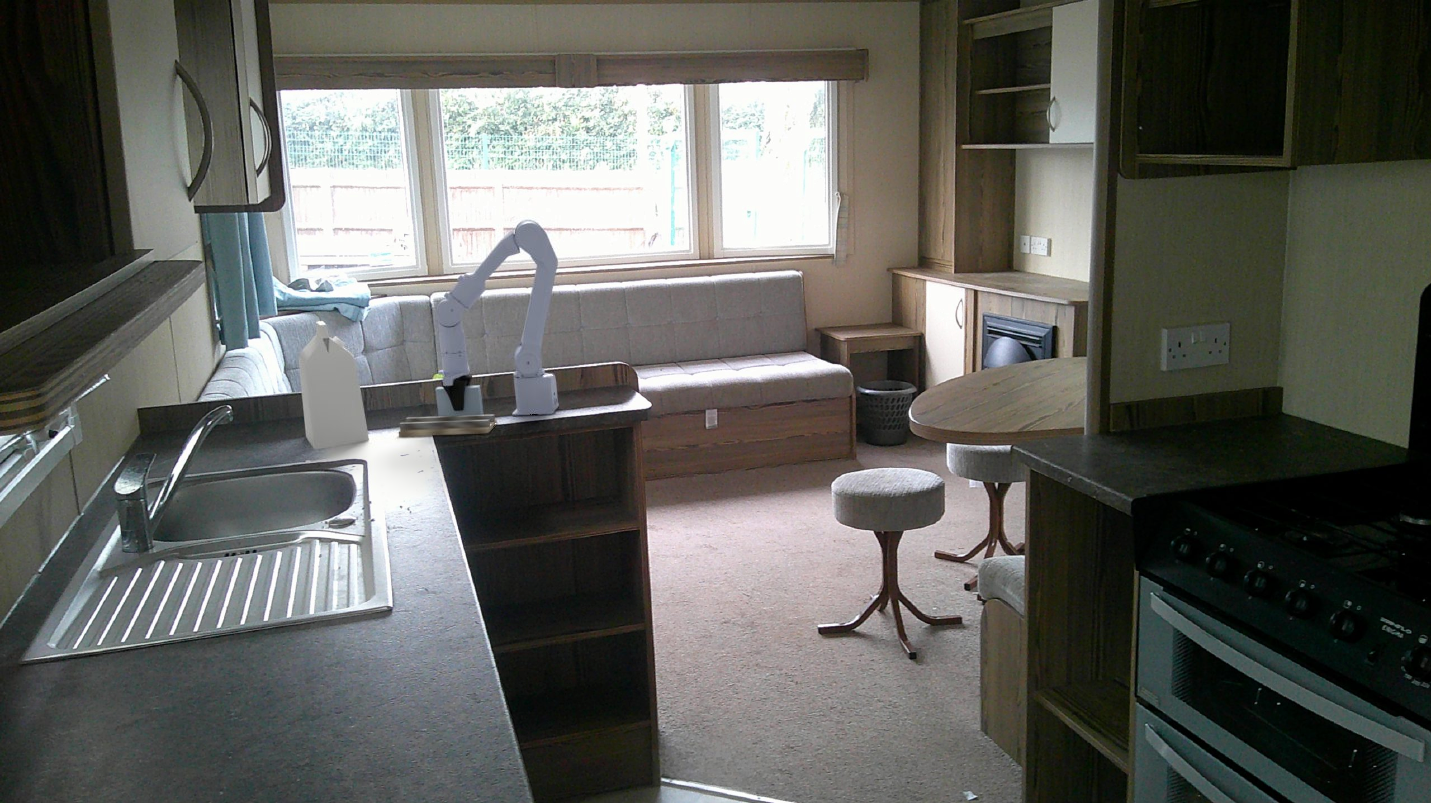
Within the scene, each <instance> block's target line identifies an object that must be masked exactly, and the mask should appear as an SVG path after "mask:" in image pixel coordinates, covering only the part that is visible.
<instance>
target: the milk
mask: <svg viewBox="0 0 1431 803" xmlns="http://www.w3.org/2000/svg"><path fill="white" fill-rule="evenodd" d="M315 327H316V333H315V335H314V336H313V337H312V338H311V340H310V341H309V342H308V343H307V344H306V346H305V347H304V348H302V350H301V352H300V353H299V355H298V368H299V369H298V370H299V371H298V372H299V378H300V389H301V399H302V409H303V418H304V428H305V438H306V439H307V440H308V443H309V444H310V445H311V447H312V448H313V450H319V449H326V448H331V447H337V446H344V445H348V444H349V445H351V444H354V443H360V442H361V443H362V442H367V441H370V438H369V432H368V426H367V420H366V414H365V408H364V402H363V397H362V391H361V386H360V385H361V384H360V380H359V378H360V377H359V374H358V368H357V363H356V362H357V361H356V358H355V354H354V353H353V354H352V353H351V352H350V351H349V349H347V348H345V346H346V345H347V343H345V341H343V340H342V339H340V338H339V337H338V336H337V335H335V336H334V337H333V338H332V337H330V334H329V329H328V324H327V323H325V322H324V321H323V320H319V321H315Z"/></svg>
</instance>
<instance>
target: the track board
mask: <svg viewBox="0 0 1431 803" xmlns="http://www.w3.org/2000/svg"><path fill="white" fill-rule="evenodd" d="M495 423H497V424H498V421H497V418H496V417H495V414H484V415H463V416H439V415H438V416H413V417H412V416H411V417H409V416H408V417H406V418H405V422H400V423H399V431H398V432H397V433H398V437H417V436H419V437H420V436H445V435H474V434H475V435H476V434H477V435H479V434H488V433H490V432H491V431H492V429H494V427H495V426H496V425H495ZM494 425H495V426H494ZM493 426H494V427H493Z"/></svg>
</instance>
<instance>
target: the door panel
mask: <svg viewBox="0 0 1431 803" xmlns="http://www.w3.org/2000/svg"><path fill="white" fill-rule="evenodd" d="M435 397H436V407H437V414H438V416H463V415H485V414H484V407H483V406H484V405H483V398H482V391H481V385H479V384H478V385H470V386H466V388H465V393H464V409H463V411H454V409H453V407H452V404H451V401H450V399H449V396H448V394H447V393H446V391H445V389H444V388H443V387H442V386H437V387H436V388H435Z"/></svg>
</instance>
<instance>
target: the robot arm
mask: <svg viewBox="0 0 1431 803" xmlns="http://www.w3.org/2000/svg"><path fill="white" fill-rule="evenodd" d="M521 250H522V251H524V253H525V252H526V253H527V254H528V255H529V256H530V258H531V259H532V260H533V262H534V264H535V265H536V268H535V272H534V273H535V274H534V278H533V283H532V287H531V291H530V292H531V293H530V297H529V303H528V307H527V312H526V317H525V322H524V325H523V327H524V328H523V330H522V331H523V332H522V334H521V339H520V342H519V344H518V345H517V346H516V348H515V349H514V352H513V359H514V360H513V364H514V368H515V371H514V372H513V373H512V375H513V383H514V384H513V385H514V392H515V393H514V394H515V401H516V404H515V405H516V409H515V410H514V411H513V412H512V416H532V414H538V415H553V414H554V412H555V411H556V410H557V409H558V407H559V406H560V404H559V401H558V400H559V399H558V397H559V396H558V387H557V386H558V385H557V380H556V375H555V374H554V373H548V372H546V371H545V369H544V368H543V367H542V366H543V359H542V354H541V351H542V347H543V346H542V344H543V336H544V333H545V327H546V323H547V318H548V312H549V308H550V302H551V299H552V293H553V289H554V283H555V279H556V274H557V270H558V266H559V259H558V257H557V255H556V252H555V251H554V248H553V246H552V243H551V240H550V239H549V236H548V234H547V232H546V231H545V229H544V228H543V227H542V226H541V225H540V224H539V222H537V221H535V220H533V219H524V220H522V221H520V222H519V223H517V225H516V227H515V228H514V229H512V230H510V231H509V232H508V233H507V234H506V235H505V236H503V238H502V239H500V241H499V242H497V244H496V245H495V247H494V248H493V249H492V250H491V251H490V253H489V254H488V255H487V256H486V258H485V259H484V260H483V262H481V264H480V265H479V266H478V267H477V269H476V270H475V271H473V272H466V273H464V275H462V274H460V275H459V276H458V277H457V279H456V280H457V283H456V284H455V285H454V286H453V288H452V289H451V290H450V291H447V292H445V293H444V294H443V296H444V299H441V301H440V302H439V303H438V304H437V306H436V309H435V318H436V320H437V321H438V325H437V326H438V327H437V328H438V330H439V332H438V339H439V347H440V355H441V356H440V357H441V363H442V369H440V370H438V372H437V374H438V375H440V376H441V375H442V381H441V387H443V388H444V389H445V391H446V393H447V394H448V396H449V399H450V401H451V404H452V407H453V409H454V411H463V409H464V393H465V388H466V386H471V383H472V380H473V375H471V374H469V373H470V371H471V370H470V364H469V363H468V353H467V345H466V344H467V343H466V335H465V331H464V328H463V321H462V320H463V314H464V312H465V311H466V312H467V311H468V310H470V309H471V307H472V306H473V305H474V304H475V303H476V301H477V300H479V298H480V297H481V296H482V294H483V293H484V292H485V291H486V289H487V286H486V281H487V280H488V279H489V278H490V277H491V276H492V275H493V273H495V271H496V270H498V268H499V267H500V266H501V265H502V264H503V263H504V262H505V261H506V259H507V258H509V257H510V256H514V255H518V254H520V253H521ZM468 374H469V375H468ZM530 414H531V415H530Z"/></svg>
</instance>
